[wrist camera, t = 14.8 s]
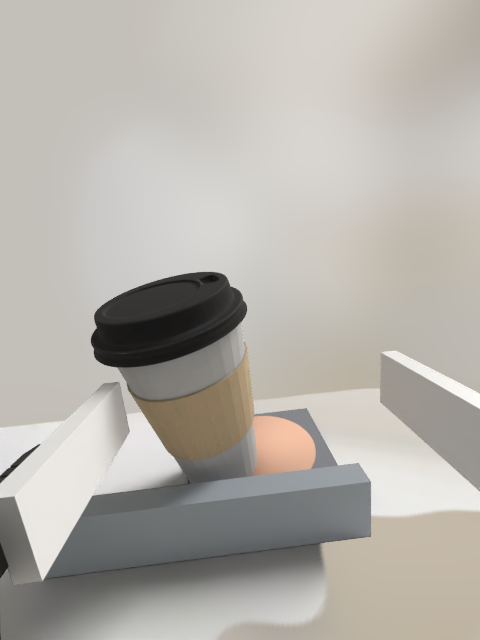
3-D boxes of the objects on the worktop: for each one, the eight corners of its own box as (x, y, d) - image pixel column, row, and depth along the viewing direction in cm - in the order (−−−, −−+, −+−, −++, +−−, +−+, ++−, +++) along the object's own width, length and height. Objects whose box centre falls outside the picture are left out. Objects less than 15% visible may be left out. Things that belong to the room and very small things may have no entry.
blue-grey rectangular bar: (44, 578, 16) (27, 524, 15) (60, 552, 18) (44, 501, 17) (370, 536, 17) (370, 481, 16) (359, 514, 18) (358, 463, 17)
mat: (184, 519, 19) (182, 508, 19) (200, 427, 30) (199, 420, 30) (351, 498, 19) (350, 488, 19) (307, 414, 30) (306, 407, 30)
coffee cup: (301, 446, 22) (272, 269, 16) (219, 561, 16) (124, 349, 10) (222, 405, 28) (180, 267, 22) (143, 476, 22) (56, 315, 16)
